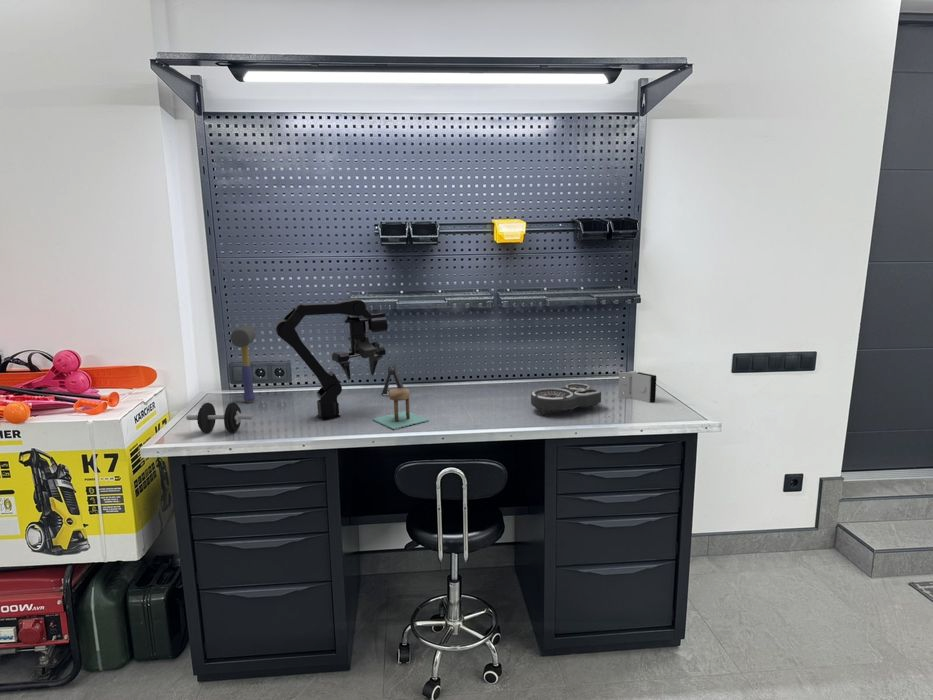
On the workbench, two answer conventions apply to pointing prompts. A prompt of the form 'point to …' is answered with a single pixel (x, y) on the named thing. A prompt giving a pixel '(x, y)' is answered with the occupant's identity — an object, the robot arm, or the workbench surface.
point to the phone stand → (396, 376)
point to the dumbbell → (219, 417)
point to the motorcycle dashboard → (565, 398)
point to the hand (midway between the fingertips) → (361, 377)
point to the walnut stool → (400, 395)
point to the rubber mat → (400, 420)
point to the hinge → (637, 386)
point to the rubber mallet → (245, 357)
